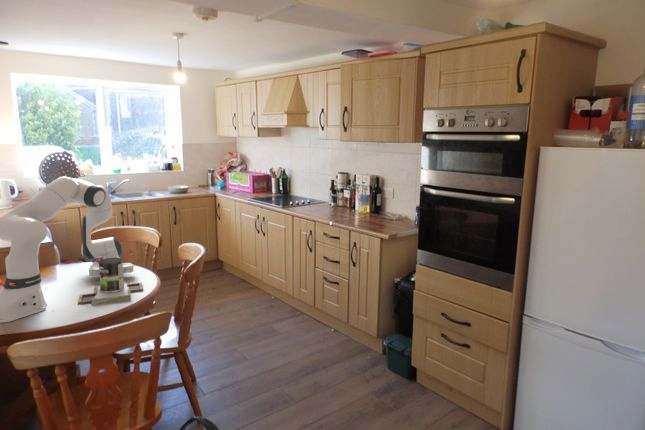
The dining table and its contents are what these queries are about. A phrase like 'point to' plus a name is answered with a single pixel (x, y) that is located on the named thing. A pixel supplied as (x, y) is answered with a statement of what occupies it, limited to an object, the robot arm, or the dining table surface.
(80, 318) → the dining table surface
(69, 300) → the dining table surface
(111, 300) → the lane
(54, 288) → the dining table surface
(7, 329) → the dining table surface
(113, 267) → the coffee can
